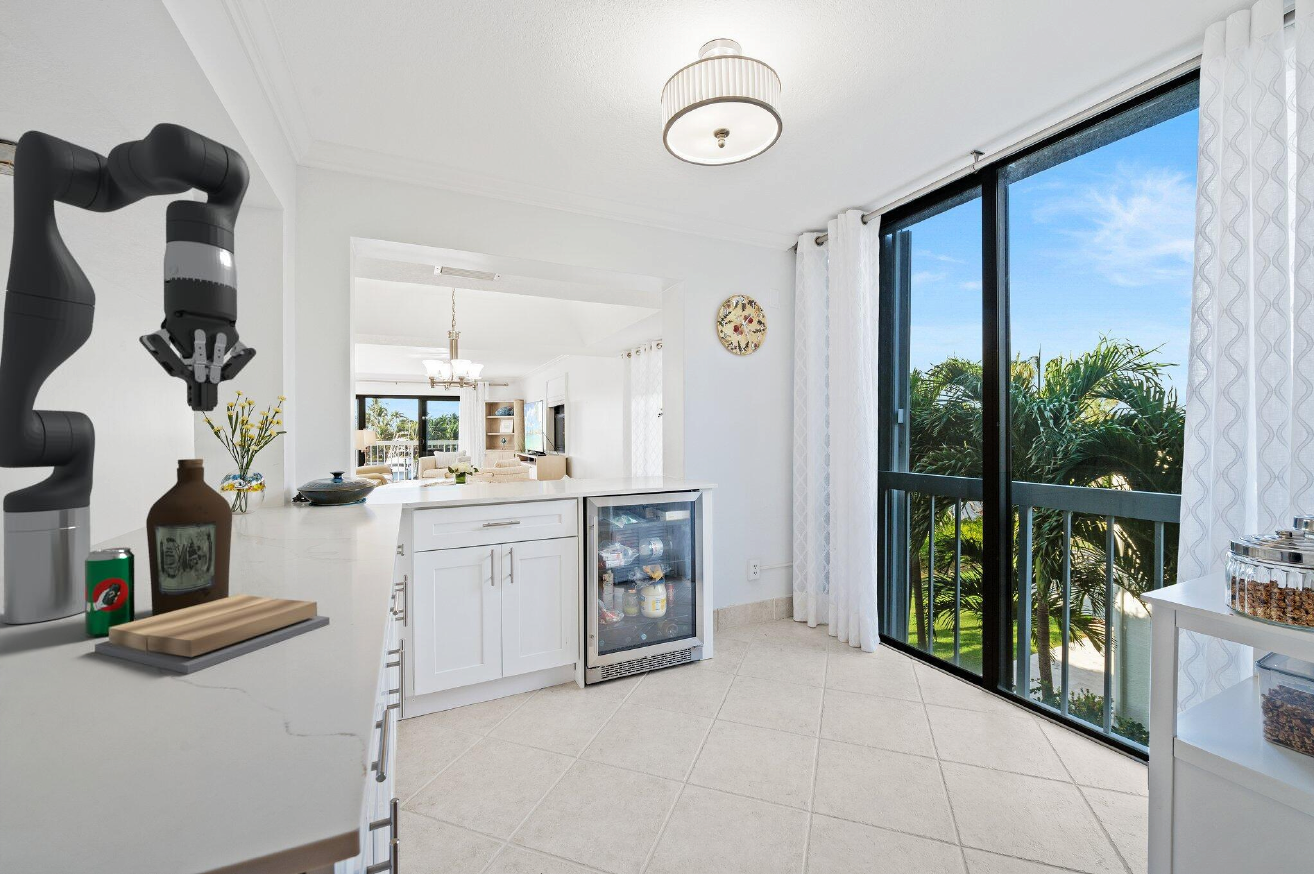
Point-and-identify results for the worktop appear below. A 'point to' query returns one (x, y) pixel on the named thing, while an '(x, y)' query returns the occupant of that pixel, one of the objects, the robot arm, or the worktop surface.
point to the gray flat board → (213, 656)
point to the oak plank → (176, 620)
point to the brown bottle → (189, 542)
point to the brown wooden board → (230, 627)
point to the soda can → (109, 590)
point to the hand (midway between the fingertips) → (202, 410)
